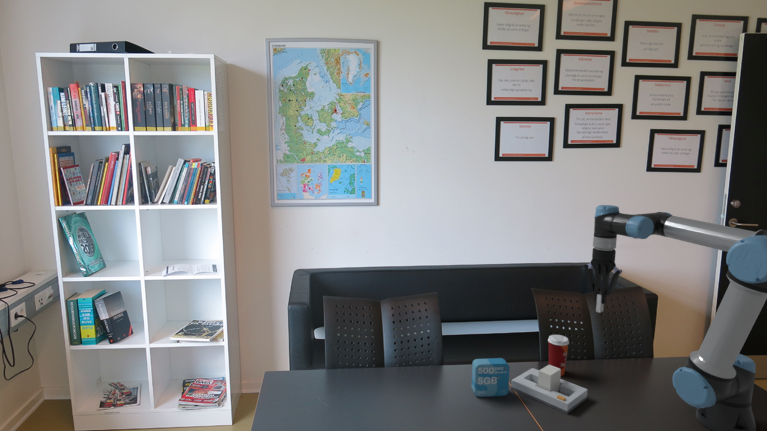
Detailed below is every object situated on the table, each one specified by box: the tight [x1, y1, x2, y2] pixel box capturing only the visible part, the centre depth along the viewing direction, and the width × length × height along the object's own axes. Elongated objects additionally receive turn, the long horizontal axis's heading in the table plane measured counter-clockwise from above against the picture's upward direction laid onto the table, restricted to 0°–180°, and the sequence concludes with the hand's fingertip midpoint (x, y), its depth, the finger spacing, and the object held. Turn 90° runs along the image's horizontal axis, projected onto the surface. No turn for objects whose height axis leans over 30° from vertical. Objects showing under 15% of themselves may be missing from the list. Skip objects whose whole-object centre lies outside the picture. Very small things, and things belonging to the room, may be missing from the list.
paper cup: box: [547, 334, 570, 377], centre depth 179 cm, size 8×8×14 cm
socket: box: [510, 367, 588, 415], centre depth 164 cm, size 21×14×4 cm, turn 42°
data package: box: [471, 357, 510, 398], centre depth 164 cm, size 12×4×12 cm, turn 94°
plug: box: [538, 364, 562, 392], centre depth 165 cm, size 10×4×8 cm, turn 132°
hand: (599, 311), depth 171 cm, fingers closed
